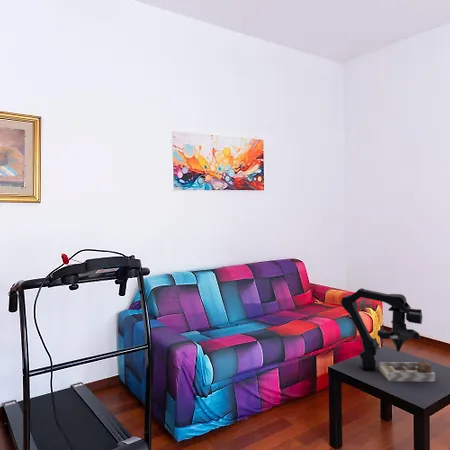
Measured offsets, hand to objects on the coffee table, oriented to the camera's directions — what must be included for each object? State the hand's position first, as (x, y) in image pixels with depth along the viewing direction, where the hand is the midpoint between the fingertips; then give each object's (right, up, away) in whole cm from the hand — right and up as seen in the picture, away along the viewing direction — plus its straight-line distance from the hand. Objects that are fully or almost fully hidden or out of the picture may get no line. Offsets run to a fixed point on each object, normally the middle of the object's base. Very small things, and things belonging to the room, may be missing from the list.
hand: (397, 351), depth 198 cm
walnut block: (+12, -10, -3) cm, 15 cm away
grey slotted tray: (+4, -12, 0) cm, 13 cm away
